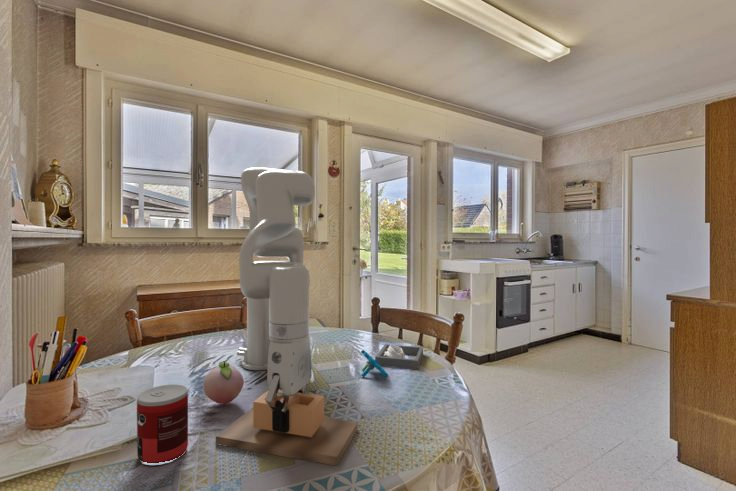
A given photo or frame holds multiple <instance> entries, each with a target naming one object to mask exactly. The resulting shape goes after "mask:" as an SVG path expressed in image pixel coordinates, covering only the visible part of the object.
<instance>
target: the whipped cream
mask: <svg viewBox="0 0 736 491" xmlns="http://www.w3.org/2000/svg"><path fill="white" fill-rule="evenodd" d="M396 345H397V344H390V346H389V348H388V349H387V350H388V351H385V354H384V356H383V357H394V358H405V355H406V354H404V352H403V350H402V348H400V347H398V346H396Z"/></svg>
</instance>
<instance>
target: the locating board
mask: <svg viewBox="0 0 736 491" xmlns="http://www.w3.org/2000/svg"><path fill="white" fill-rule="evenodd" d="M358 426H359V423H358V421H352V420H344V419H337V418H330V417H325V416H324V422H323V423H322V424H321V426H320V427H319V428H318V430H317V431H316V432H315V433H314V435H313V436H312V437H308V436H302V435H295V434H289V433H283V432H277V431H270V430H264V429H258V428H253V407H251V408H249V409H248V410H247V411H246V412H245V413H243V414H242V415H241V416H239V418H237V419H236V420H234V421H233V422H232V423H231V424H229V426H227V427H226V428H225V429H223V430H222V431H221V432H219V433H218V434H217V435H216V436H215V445H217V444H221V445H220V446H222V445H226V446H225V447H228V446H230V447H229V448H233V449H234V448H235V449H240V450H241V449H242V450H245V451H250V452H251V451H252V452H258V453H263V454H268V455H274V456H279V457H285V458H291V459H297V460H301V459H302V460H303V461H308V462H315V463H318V462H319V464H325V465H331V466H336V467H338V465H339V463H340V461H341V460H342V457H343V456H344V454H345V453H346V451H347V450H348V447H349V445H350V444H351V442H352V440H353V439H354V437H355V435H356V433H357V431H358V428H359V427H358Z"/></svg>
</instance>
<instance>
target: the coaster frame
mask: <svg viewBox="0 0 736 491" xmlns="http://www.w3.org/2000/svg"><path fill="white" fill-rule="evenodd" d="M390 345H391V344H388V343H385V344H384V345H383V346H382V348H380V350H379V352H377V354H376V355H375V357H374V358H375V359H376V360H377V361H378V362H377V363H378V364H379V365H380V366H381V367H389V368H390V367H392V368H401V369H413V370H419V367H420V365H421V361H422V358H423V356H424V347H423V346H416V345H415V346H413V345H402V344H401V345H400V344H395V345H396V346H398V347H400V348H402V350H403V352H404V354H405V355H411V354H413V356H415V358H405V357H404V358H394V357H383V356H384V354H385V351H388V350H387V349H388V348H389V346H390ZM375 359H374V360H375Z"/></svg>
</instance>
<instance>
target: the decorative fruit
mask: <svg viewBox="0 0 736 491" xmlns="http://www.w3.org/2000/svg"><path fill="white" fill-rule="evenodd" d="M244 383H245V380H244V377H243V374H242V373H241V372H240V371H239V370H238V369H237V368H236V367H235V366H233V365H231V364H230V363H229V362H226V361H223V362H220V363H218V365H217V367H213V368H212V369H211V370H209V371H208V372H207V374H205V377H204V379H203V386H202V387H203V388H202V389H203V391H204V392H203V393H204V394H205V396H206V397H207V398H208V399H209V400H210V401H213V402H214V403H216V404H221V405H227V404H230V403H231V402H233V401H234V400H235V399H236V398H237V397H238V396H239V395H240V394H241V391H242V390H243V387H244Z"/></svg>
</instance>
